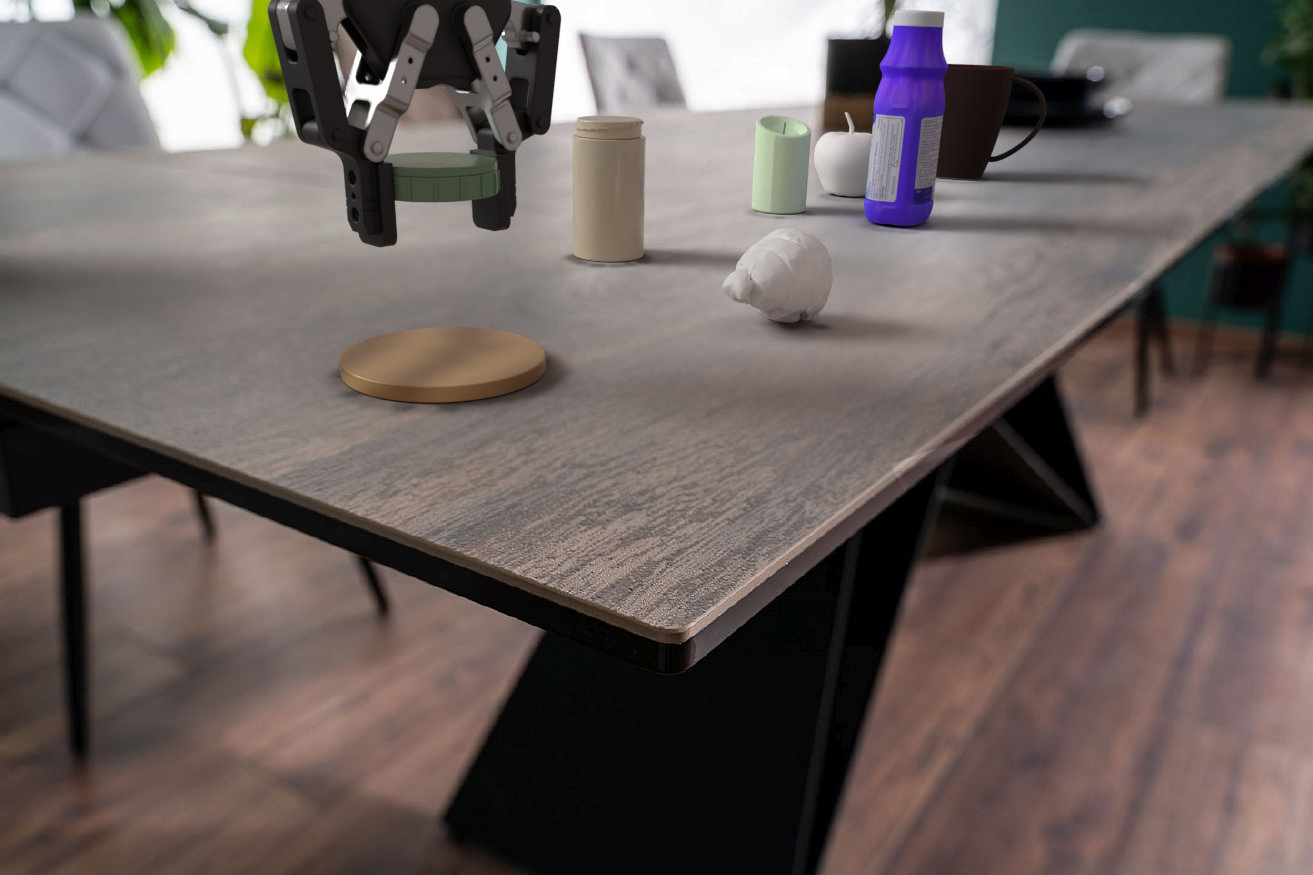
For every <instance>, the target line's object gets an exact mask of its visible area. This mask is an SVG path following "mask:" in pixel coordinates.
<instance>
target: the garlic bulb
mask: <svg viewBox="0 0 1313 875" xmlns="http://www.w3.org/2000/svg"><path fill="white" fill-rule="evenodd" d="M833 272H834V270H833V262H832V257H831V254H830V251H829V250H828V248H827V247H826V245H825V244H824V243H823V242H822V241H821V240H820V239H819V238H817V237H816V236H814V235H812V234H810V233H808V232H807V231H804V230H801V229H798V228H789V227H780V228H777V229H774V230H773V231H771V232H770V233H769V234H767V235H766V236H764V237H763V238H761V239H760V240H759V241H758V242H755V243H754V244H753V245H751V246H750V247H749V248H748V249H746V251H745V252H744V253H743V255H741V257H740V259H739V260H738V261H737V262H736V267H735V270H734V271H732V272H731V273H729V274H728V276H726V278H725V279H724V281H723V282H722V291H723V292H724V293H725V295H726V296H728V298H730V300H732V301H734V302H736V303H739V304H746V305H750V306H751V307H754V308H755V310H756V312H757V313H759V314H760V315H762V317H764V318H765V319H767V320H771V321H772V320H774V321H776V322H778V323H779V322H780V323H787V324H793V323H798V322H799V321H800V320H811V319H813V318H815V317H816V316H818V315H819V313H820V312H821V311H822V310H823V309H824V307H825V306H826V304H827V302H828V300H829V296H830V294H831V293H830V292H831V289H832V287H833V286H832V285H833V280H834V276H833V275H834V273H833Z"/></svg>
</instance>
